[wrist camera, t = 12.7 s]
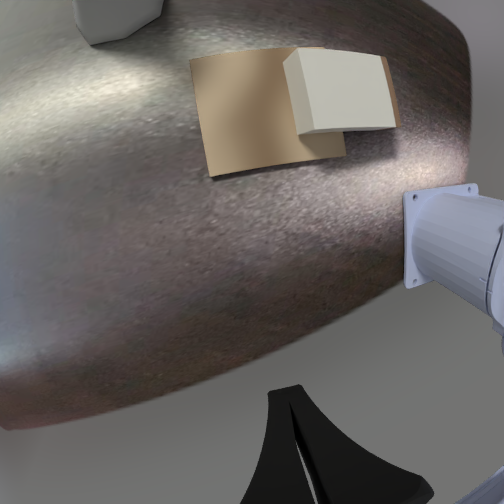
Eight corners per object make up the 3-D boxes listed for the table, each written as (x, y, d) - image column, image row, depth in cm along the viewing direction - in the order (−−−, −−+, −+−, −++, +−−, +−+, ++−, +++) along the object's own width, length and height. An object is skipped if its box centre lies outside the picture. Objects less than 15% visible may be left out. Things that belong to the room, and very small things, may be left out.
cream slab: (282, 62, 15) (365, 66, 16) (297, 134, 16) (378, 130, 17) (297, 47, 12) (385, 57, 13) (314, 129, 14) (401, 127, 15)
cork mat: (322, 49, 15) (323, 47, 15) (344, 156, 18) (346, 156, 17) (190, 62, 15) (189, 60, 14) (210, 176, 17) (209, 176, 17)
